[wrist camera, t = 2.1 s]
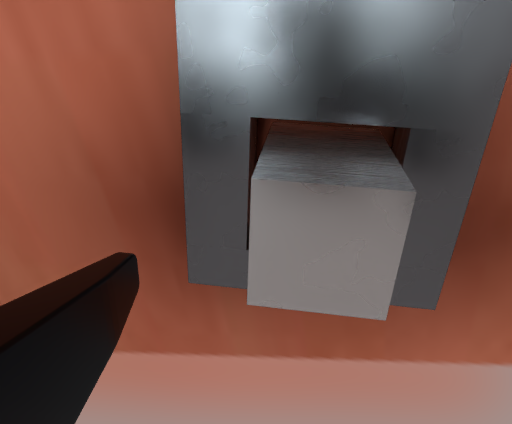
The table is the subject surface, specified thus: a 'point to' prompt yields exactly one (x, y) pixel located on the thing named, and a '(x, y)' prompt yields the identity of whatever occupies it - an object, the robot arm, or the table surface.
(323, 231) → the grey metal block
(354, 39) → the grey board with holes
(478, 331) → the table surface
